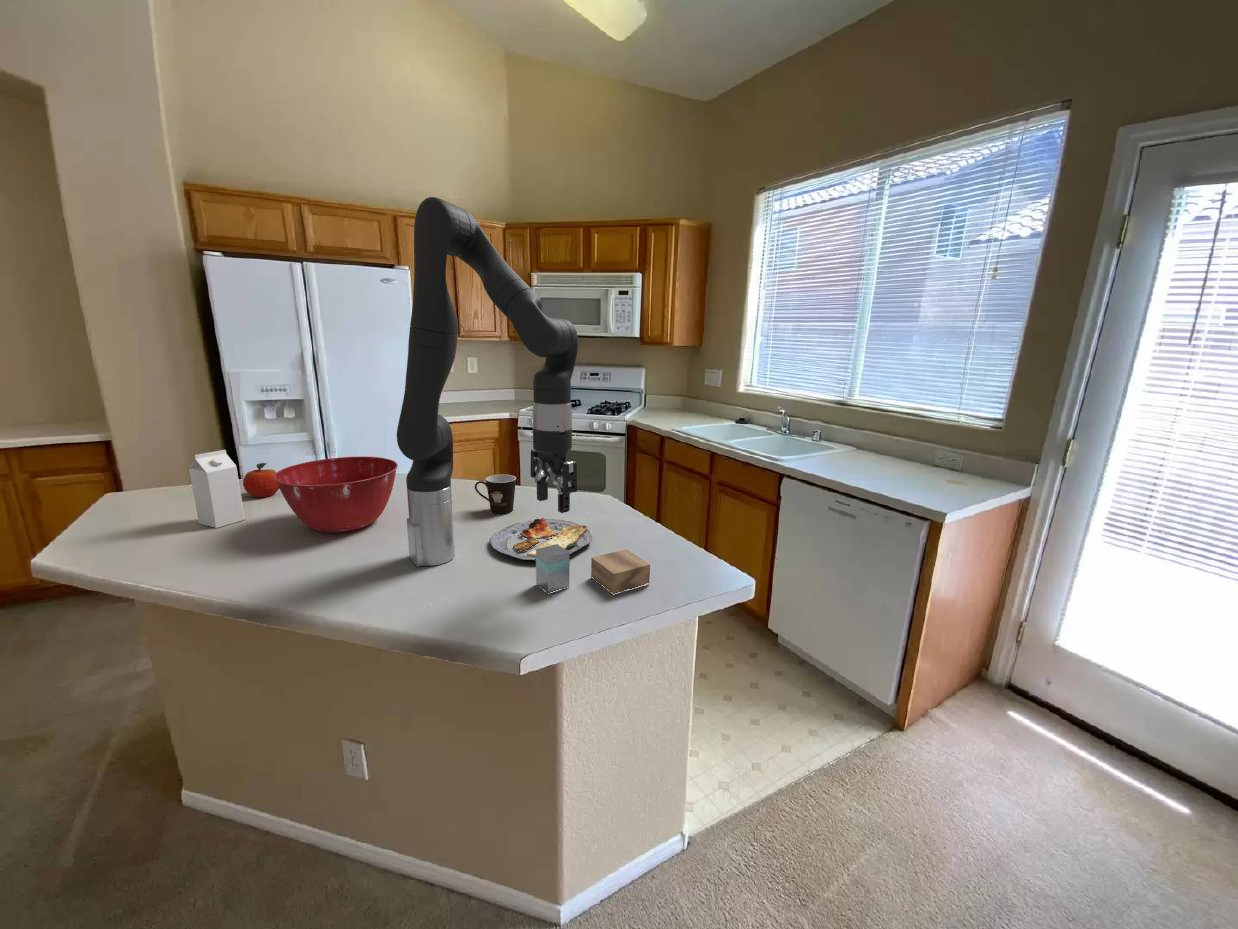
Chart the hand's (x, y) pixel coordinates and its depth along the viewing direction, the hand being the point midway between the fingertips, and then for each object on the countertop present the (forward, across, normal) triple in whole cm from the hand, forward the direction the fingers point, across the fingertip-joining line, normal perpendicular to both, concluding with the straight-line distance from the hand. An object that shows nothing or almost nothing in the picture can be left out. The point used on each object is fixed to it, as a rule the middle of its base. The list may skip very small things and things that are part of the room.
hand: (552, 505), depth 101 cm
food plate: (+18, -21, +9) cm, 29 cm away
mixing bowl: (+18, -61, -29) cm, 70 cm away
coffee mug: (+18, -50, +10) cm, 54 cm away
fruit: (+18, -100, -45) cm, 111 cm away
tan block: (+18, +6, +13) cm, 23 cm away
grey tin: (+18, 0, 0) cm, 18 cm away
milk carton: (+18, -79, -55) cm, 98 cm away
